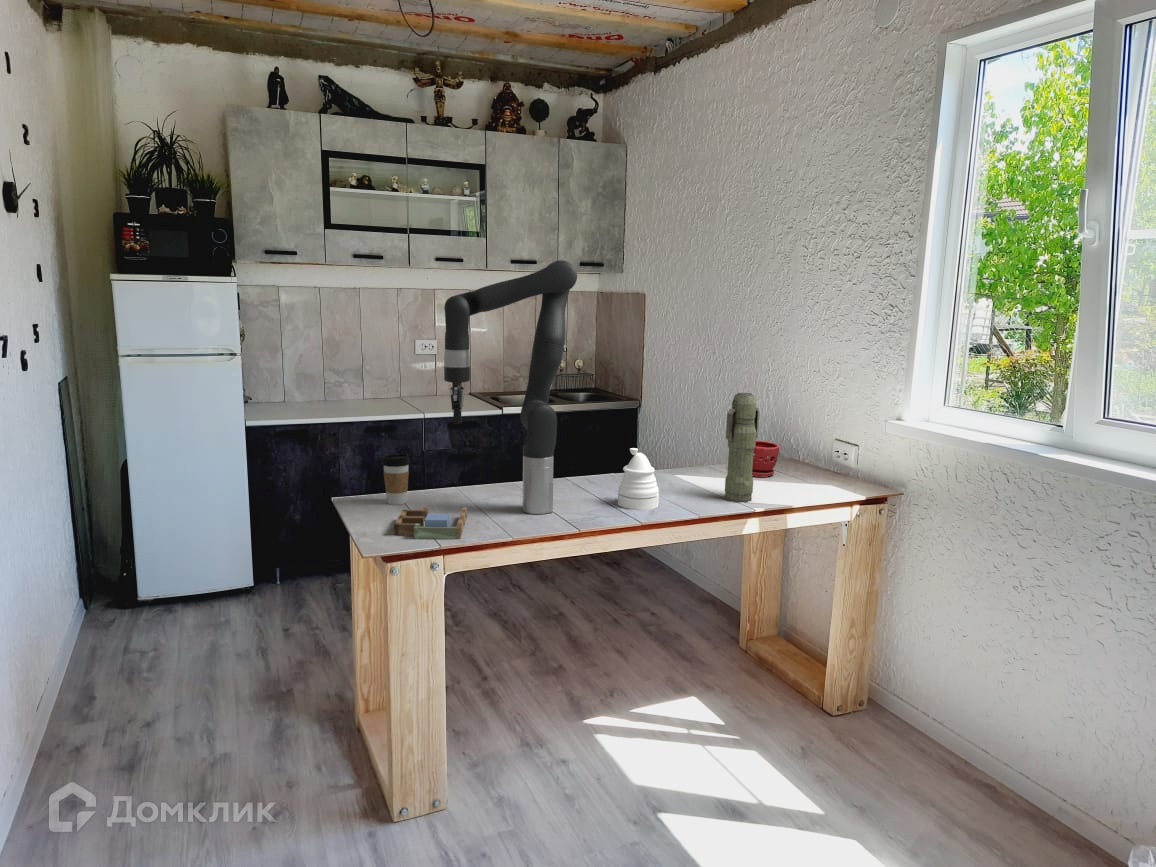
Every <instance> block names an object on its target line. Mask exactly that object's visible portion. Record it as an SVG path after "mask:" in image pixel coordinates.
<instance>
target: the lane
mask: <svg viewBox="0 0 1156 867" xmlns="http://www.w3.org/2000/svg"><path fill="white" fill-rule="evenodd" d="M428 514H430V513H429V507H427V506H426V507H423V508H422V509H403V510H402V511H401V512H400V514H399V515H398V517H397V519H396V521H395V523H394V525H393V535H394V536H413V539H420V540H421V539H423V540H424V539H426V540H427V539H428V540H431V539H432V540H435V539H436V540H437V539H438V540H440V539H441V540H442V539H443V540H447V539H448V540H452V539H453V540H461V538H462V535H463V532H464V529H465V525H466V522H467V518H468V507H462V509H461V511H460V515H459V517H458V521H457V523H456V526H450V527H425V518H426V517H427V515H428Z"/></svg>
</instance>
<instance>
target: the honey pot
mask: <svg viewBox="0 0 1156 867" xmlns="http://www.w3.org/2000/svg"><path fill="white" fill-rule="evenodd" d="M629 452H630V453H631V455H632V458H631V459H630V461H629V463H628V464H627V465H625V466H623V468H622V470H623V471H624V474H623V476H621V481H620V484H619V486H618V487H617V488H618V493H617V505H618V506H619V507H621V508H624V509H629V510H636V511H642V510H643V511H646V510H653V509H656V508H658V506H659V499H660V498H659V496H660V495H659V494H660V493H659V492H660V488H659V486H658V483H657V479H656V476H655V474H654V472H655V471H656V470H655V468H654V467H653V466H652V465H651V462H650V461H649V459H648V457H647V456H646V454H644V453H642V452H639V448H635V447H632V448H629Z"/></svg>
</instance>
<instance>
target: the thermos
mask: <svg viewBox="0 0 1156 867" xmlns="http://www.w3.org/2000/svg"><path fill="white" fill-rule="evenodd" d="M726 414H727V415H726V429H725V430H726V431H725V438H726V440H727V447H728V460H727V474H726V477H725V479H724V480H725V481H724V482H725V483H724V492H725V495H724V499H725V501H728V500H729V501H728V502H732V501H733V502H732V503H739V502H744V503H749V502H748V501H750V502H751V501H752V497H753V496H752V494H753V493H754V488H753V487H754V479H753V476H752V467H753V456H754V454H753V452H754V449H755V444H756V441H757V439H758V437H759V436H758V435H759V427H760V426H759V423H760V410H759V408H758V407H757V401H756V396H755V395H754V394H752V393H749V392H737V393H735V394H734V396H733V399H732V401H731V408H729V410H728V411H727V413H726Z"/></svg>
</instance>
